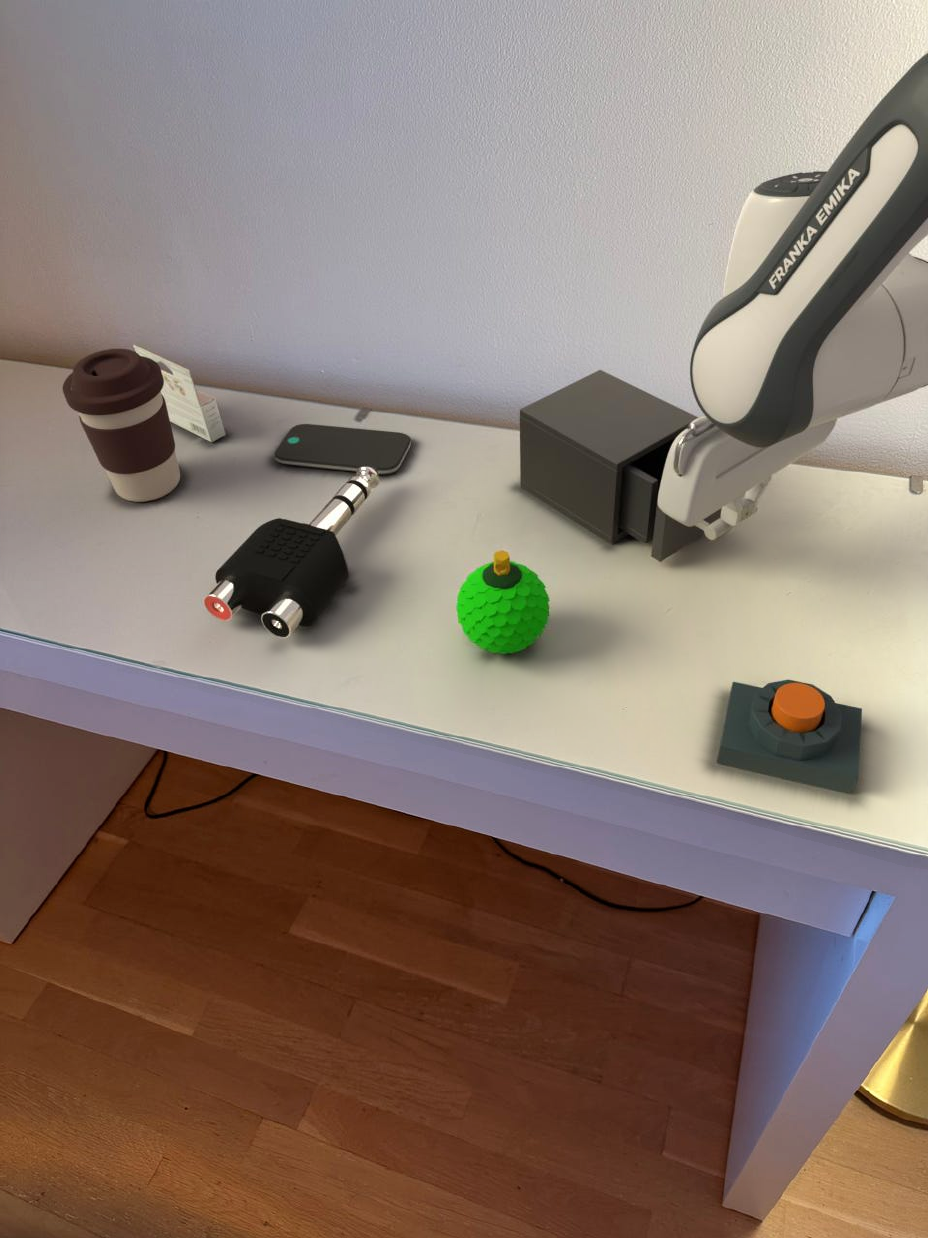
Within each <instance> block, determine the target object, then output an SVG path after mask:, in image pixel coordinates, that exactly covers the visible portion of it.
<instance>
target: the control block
mask: <svg viewBox="0 0 928 1238" xmlns="http://www.w3.org/2000/svg"><path fill="white" fill-rule="evenodd" d="M789 683H802V684H806V685H809V686H811V687H813V688H814V689H816V690H817V691H818V692H819V693H820V694H821V695H822V697H823V698H824V701H825V708H824V711H823V714H822V717H821V720H820V723H819V725H818V726H817V727H816V728H815V729H814V730H812V731H810V732H806V733H797V732H792V731H788V730H786V729H784V728H782V727H781V726H779V725H778V724H777V723H776V722H775V720H774V719H773V716H772V712H771V711H772V706H773V702H774V698H775V695H776V692H777V690H778V689H779V688H780V687H782V686H783V685H786V684H789ZM729 692H730V693H729V698H728V703H727V707H726V712H725V717H724V722H723V727H722V732H721V737H720V742H719V747H718V752H717V757H716V764H719V765H723V766H727V767H731V768H732V767H733V768H736V769H740V770H745V771H749V772H753V773H758V774H761V775H767V776H769V777H774V778H779V779H784V780H786V781H787V780H788V781H792V782H797V783H801V784H805V785H808V786H812V787H813V786H814V787H817V788H822V789H825V790H831V791H835V792H839V793H843V794H848V795H852V792H853V790H854V788H855V786H856V784H857V780H858V777H859V763H860V751H861V750H860V749H861V734H862V733H861V732H862V717H863V716H862V715H863V708H861V707H857V706H852V705H848V704H842V703H838V702H836V701H835V700H834V698H833V697H832V695H830V694H828V693H827V692H825V691H823V690H822V689H821V688H819V687H817V686H816V685H814V684H812V683H808V682H803V681H799V680H794V679H793V680H792V679H783V680H777V681H773V682H768V683H766V684H765V685H764V686H763V687H761V686H756V685H751V684H746V683H742V682H737V681H732V685H731V688H730V691H729Z"/></svg>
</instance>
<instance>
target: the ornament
mask: <svg viewBox="0 0 928 1238" xmlns="http://www.w3.org/2000/svg"><path fill="white" fill-rule="evenodd" d="M509 554H510V553H509V552H508V551H505V550H504V549H503V550H497V551H495V552H494V553H493V561H491V562H488V563H486V564H483V565H481V566H479V567H477V568H476V569H475V570H473V571H472V572H471V573H469V574H468V576H467V577H466V580H465V581H464V582H463V583H462V584H461V586H460V588H459V589H460V590H459V591H458V594H457V597H456V598H457V600H456V601H457V602H456V606H455V609H456V612H457V621H458V624H460V625H461V629H462V632H463V634H464V635H465V636H466V637H467V638H468V639H469V640H470V642H472V643H473V644H475V646H477V648H478V647H479V649H481V650H483V649H485V651H487V652H488V653H491V654H495V653H497V654H501V655H506V654H513V653H514V654H515V653H516V652H520V651H524V650H525V649H526V648H527V647H530V646H531V645H532V644H534V642H535V641H536V639H537V638H540V637H541V636H542V634H543V632H544V629H545V628H546V626H547V625H548V621H549V617H550V608H551V607H550V603H549V602H550V601H551V600H550V597H549V594H548V592H547V590H546V589H547V586H546V585H545V583H544V582H543V581H542V580H541V579H540V578H539V575H538V574H537V573H536V572H535V571H533V570H531V569H530V568H529V567H528V566H526V565H523V564H522V563H518V562H515V561H513V560H511V557H510V555H509ZM469 640H468V641H469Z"/></svg>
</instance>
